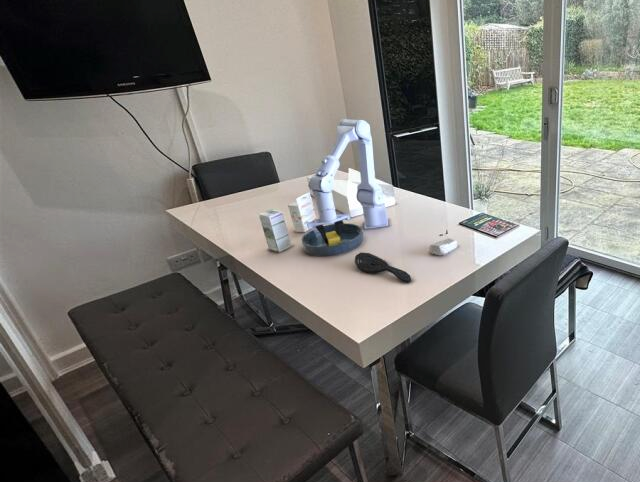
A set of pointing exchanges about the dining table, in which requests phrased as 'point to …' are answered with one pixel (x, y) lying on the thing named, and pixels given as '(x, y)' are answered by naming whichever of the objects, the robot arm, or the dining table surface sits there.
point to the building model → (347, 192)
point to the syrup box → (275, 230)
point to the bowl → (318, 247)
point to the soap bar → (443, 246)
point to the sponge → (333, 238)
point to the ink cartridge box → (302, 212)
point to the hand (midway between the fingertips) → (333, 241)
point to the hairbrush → (378, 266)
